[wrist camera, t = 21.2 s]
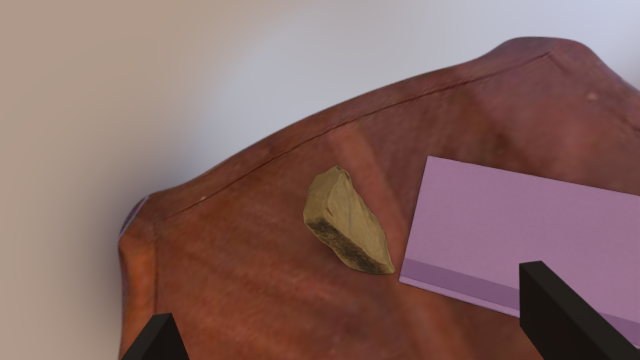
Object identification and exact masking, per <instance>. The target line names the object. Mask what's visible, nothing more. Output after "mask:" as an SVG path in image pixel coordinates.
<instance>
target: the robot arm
mask: <svg viewBox="0 0 640 360" xmlns="http://www.w3.org/2000/svg"><path fill="white" fill-rule="evenodd" d="M519 305H520V327H521V328H522V330H523V331H524V332H525V334H526V335H527V336H528V338H529V339H530V341H531V342H532V343H533V345H534V346H535V347H536V349H537V350H538V352H539V353H540V354H541V356H542V357H543V358H544V360H640V348H638V349H637V348H636V347H635V346H634V345H633V344H632V343H630V342H629V341H628V340H627V339H626V338H625V337H624V336H623V335H622V334H621V333H620V332H619V331H617V330H616V329H615V328H614V327H613V326H612V325H611V324H610V323H609V322H608V321H607V320H606V319H604V318H603V317H602V316H601V315H600V314H599V313H598V312H597V311H596V310H595V309H594V308H593V307H591V306H590V305H589V304H588V303H587V302H586V301H585V300H584V299H583V298H582V297H581V296H579V295H578V294H577V293H576V292H575V291H574V290H573V289H572V288H571V287H570V286H569V285H568V284H566V283H565V282H564V281H563V280H562V279H561V278H560V277H559V276H558V275H557V274H556V273H555V272H553V271H552V270H551V269H550V268H549V267H548V266H547V265H546V264H545V263H544V262H543V261H542V260H539V261H532V262H525V263H519ZM121 360H190V359H189V357H188V354H187V352H186V349H185V346H184V344H183V341H182V339H181V336H180V334H179V331H178V328H177V326H176V323H175V321H174V318H173V316H172V313H165V314H158V315H153V316H152V317H151V319H150V320H149V321H148V323H147V324H146V326H145V327H144V328H143V330H142V331H141V333H140V334H139V335H138V337H137V338H136V339H135V341H134V342H133V344H132V345H131V346H130V348H129V349H128V350H127V352H126V353H125V355H124V356H123V357H122V359H121Z"/></svg>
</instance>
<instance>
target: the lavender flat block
mask: <svg viewBox="0 0 640 360" xmlns="http://www.w3.org/2000/svg"><path fill="white" fill-rule="evenodd" d="M539 260H542V261H543V262H544V263H545V264H546V265H547V266H548V267H549V268H550V269H551V270H552V271H553V272H555V273H556V274H557V275H558V276H559V277H560V278H561V279H562V280H563V281H564V282H565V283H566V284H568V285H569V286H570V287H571V288H572V289H573V290H574V291H575V292H576V293H577V294H578V295H579V296H581V297H582V298H583V299H584V300H585V301H586V302H587V303H588V304H589V305H590V306H591V307H593V308H594V309H595V310H596V311H597V312H598V313H599V314H600V315H601V316H602V317H603V318H604V319H606V320H607V321H608V322H609V323H610V324H611V325H612V326H613V327H614V328H615V329H616V330H617V331H619V332H620V333H621V334H622V335H623V336H624V337H625V338H626V339H627V340H628V341H629V342H630V343H632V344H633V345H634V346H635V347H636V348H637V349H638V348H640V196H635V195H630V194H625V193H620V192H614V191H609V190H604V189H599V188H594V187H588V186H583V185H578V184H573V183H568V182H562V181H557V180H552V179H547V178H542V177H536V176H531V175H526V174H521V173H516V172H510V171H505V170H500V169H495V168H490V167H484V166H479V165H474V164H469V163H463V162H458V161H453V160H448V159H443V158H437V157H432V156H428V158H427V162H426V166H425V171H424V175H423V179H422V183H421V188H420V192H419V196H418V201H417V205H416V209H415V213H414V218H413V222H412V226H411V231H410V235H409V239H408V243H407V248H406V252H405V256H404V261H403V265H402V269H401V273H400V278H399V282H401V283H404V284H407V285H411V286H414V287H417V288H421V289H424V290H427V291H431V292H434V293H437V294H441V295H444V296H447V297H451V298H454V299H457V300H461V301H464V302H467V303H471V304H474V305H477V306H481V307H484V308H487V309H491V310H494V311H497V312H501V313H504V314H507V315H511V316H514V317H517V318H520V305H519V263H525V262H532V261H539Z"/></svg>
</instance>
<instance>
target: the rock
mask: <svg viewBox="0 0 640 360" xmlns="http://www.w3.org/2000/svg"><path fill="white" fill-rule="evenodd" d="M303 215H304V223H305V225H306V226H307V227H308V228H309V229H310V230H311V231H312V232H313V234H314V235H315V236H316V237H317V238H318V239H319V240H320V241H322V242H323V243H324V244H326V245H328V246H329V247H331V248H332V249H333V251H334V252H335V253H336V255H337V256H338V257H339V258H340V260H341V261H342V262H343V263H345V264H346V266H348V267H350V268H353V269H356V270H360V271H363V272H367V273H370V274H393V273H394V271H395V267H394V266H393V264H392V263H391V259H390V255H389V251H388V248H387V241H386V238H385V233H384V231H383V229H382V227H381V226H380V223H379V221H378V219H377V218H376V217H375V216H374V214H373V213H372V212H371V210H370V209H368V208H367V207H366V205H365V204H364V201H363V199H362V198H361V197H360V196H359V195H358V194H357V193H356V191H355V189H354V188H353V185H352V182H351V177H350V175H349V174H348V173H347V171H345V170H344V169H343V168H341V167H340V166H338V165H336V166H334V167H332V168H331V169H329V170H328V171H326V172H325V173H323V174H319V175H317V176H315V177H314V179H313V182H312V183H311V185H310V186H309V188H308V197H307V200H306V203H305V209H304V212H303Z"/></svg>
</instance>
